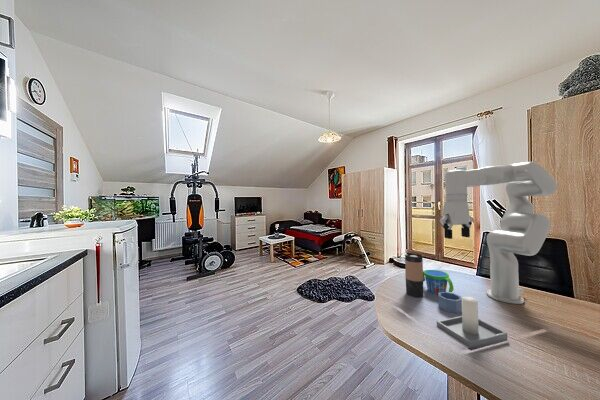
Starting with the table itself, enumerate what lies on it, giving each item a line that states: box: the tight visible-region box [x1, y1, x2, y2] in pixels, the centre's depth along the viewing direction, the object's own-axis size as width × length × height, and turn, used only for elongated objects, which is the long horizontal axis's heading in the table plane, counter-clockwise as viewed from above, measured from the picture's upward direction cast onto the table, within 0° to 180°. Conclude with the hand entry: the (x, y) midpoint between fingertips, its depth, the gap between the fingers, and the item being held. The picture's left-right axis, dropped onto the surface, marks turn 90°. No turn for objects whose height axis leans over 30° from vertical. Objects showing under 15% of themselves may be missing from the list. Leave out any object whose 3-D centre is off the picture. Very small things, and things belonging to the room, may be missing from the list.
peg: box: [461, 296, 479, 335], centre depth 73 cm, size 4×4×11 cm
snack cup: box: [423, 269, 454, 295], centre depth 105 cm, size 16×10×10 cm
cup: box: [437, 291, 462, 314], centre depth 89 cm, size 8×8×6 cm
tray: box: [436, 315, 508, 351], centre depth 73 cm, size 16×12×2 cm
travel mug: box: [404, 253, 424, 298], centre depth 102 cm, size 8×8×20 cm
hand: (457, 237), depth 91 cm, fingers open, 9 cm apart
